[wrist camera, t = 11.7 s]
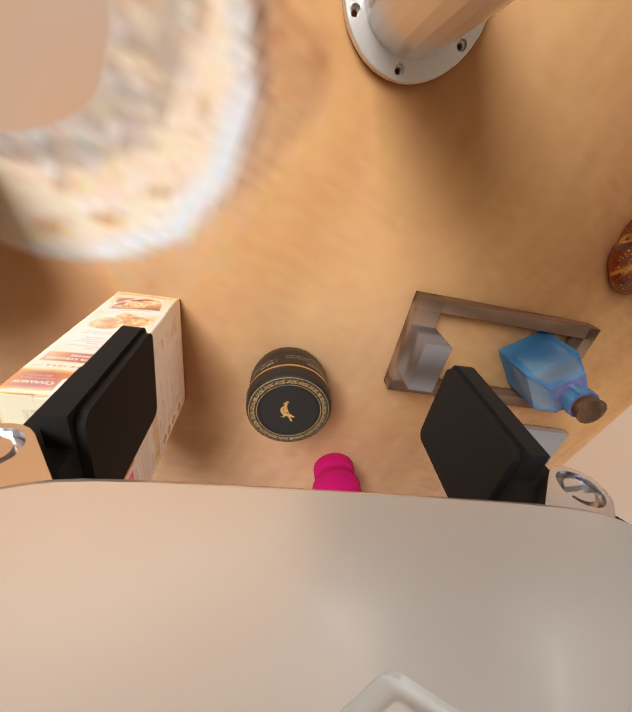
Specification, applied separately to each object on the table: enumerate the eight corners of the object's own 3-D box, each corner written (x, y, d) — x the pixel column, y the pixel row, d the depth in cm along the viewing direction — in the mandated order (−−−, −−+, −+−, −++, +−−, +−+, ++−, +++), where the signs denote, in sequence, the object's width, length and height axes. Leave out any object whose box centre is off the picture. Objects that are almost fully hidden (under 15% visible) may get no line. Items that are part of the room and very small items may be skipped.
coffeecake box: (115, 289, 39) (-16, 390, 22) (181, 296, 40) (104, 398, 23) (131, 397, 46) (41, 535, 29) (186, 401, 47) (130, 537, 30)
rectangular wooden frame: (416, 290, 41) (439, 313, 35) (588, 323, 45) (635, 348, 39) (383, 380, 47) (398, 412, 41) (538, 402, 51) (571, 434, 45)
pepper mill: (334, 443, 53) (358, 582, 35) (364, 465, 56) (400, 603, 38) (301, 468, 55) (308, 610, 38) (331, 488, 58) (351, 629, 40)
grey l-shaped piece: (450, 415, 52) (465, 438, 47) (564, 429, 55) (588, 452, 51) (430, 453, 55) (442, 478, 51) (538, 465, 59) (558, 489, 54)
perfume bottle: (550, 363, 48) (623, 419, 38) (507, 382, 50) (566, 441, 39) (543, 329, 46) (620, 379, 35) (498, 349, 47) (559, 404, 36)
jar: (282, 416, 50) (281, 456, 43) (234, 370, 45) (226, 406, 38) (339, 380, 47) (348, 416, 41) (295, 327, 43) (297, 358, 36)
